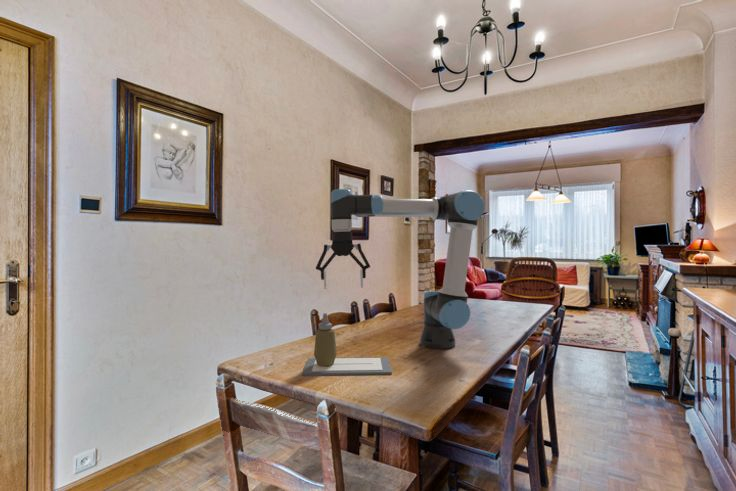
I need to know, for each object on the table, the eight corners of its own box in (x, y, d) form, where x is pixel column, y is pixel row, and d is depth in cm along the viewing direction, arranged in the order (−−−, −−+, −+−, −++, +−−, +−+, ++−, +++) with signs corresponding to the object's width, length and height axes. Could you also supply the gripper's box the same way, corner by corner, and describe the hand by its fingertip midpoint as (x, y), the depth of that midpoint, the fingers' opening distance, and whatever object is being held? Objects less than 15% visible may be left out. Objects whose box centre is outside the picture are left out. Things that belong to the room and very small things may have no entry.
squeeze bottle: (333, 368, 132) (332, 316, 132) (310, 367, 134) (310, 315, 134) (339, 361, 140) (339, 311, 140) (318, 359, 142) (318, 311, 141)
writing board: (387, 359, 146) (387, 356, 146) (391, 374, 130) (391, 371, 130) (308, 360, 145) (308, 357, 145) (302, 375, 129) (302, 372, 129)
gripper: (374, 230, 148) (376, 285, 149) (309, 232, 147) (311, 287, 148) (376, 230, 141) (377, 287, 141) (307, 232, 140) (309, 290, 140)
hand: (343, 287), depth 144 cm, fingers open, 13 cm apart
